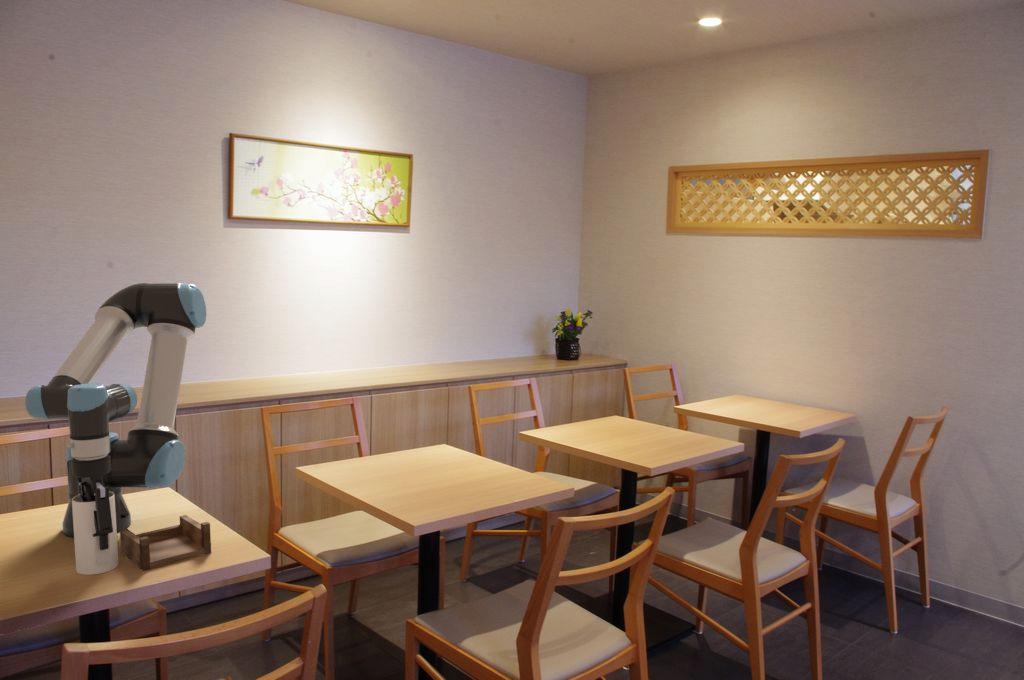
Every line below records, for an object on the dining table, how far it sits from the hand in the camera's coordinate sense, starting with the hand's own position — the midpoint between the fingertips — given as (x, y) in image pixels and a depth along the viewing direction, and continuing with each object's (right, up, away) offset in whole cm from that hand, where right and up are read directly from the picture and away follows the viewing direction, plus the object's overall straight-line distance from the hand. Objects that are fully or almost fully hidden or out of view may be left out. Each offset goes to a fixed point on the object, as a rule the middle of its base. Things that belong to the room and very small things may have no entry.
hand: (96, 557), depth 174 cm
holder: (+12, -1, +8) cm, 14 cm away
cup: (0, -3, 0) cm, 2 cm away
